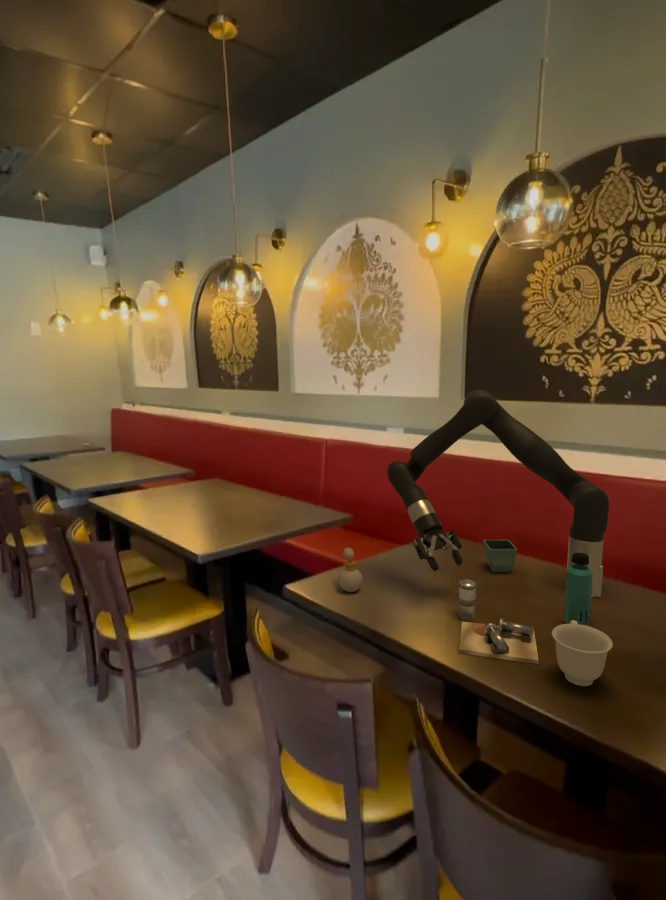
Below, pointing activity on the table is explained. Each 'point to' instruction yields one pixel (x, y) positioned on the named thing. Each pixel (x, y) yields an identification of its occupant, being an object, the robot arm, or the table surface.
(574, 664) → the teacup
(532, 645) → the base board
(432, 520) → the robot arm
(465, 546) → the table surface
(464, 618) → the disc
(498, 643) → the shaft
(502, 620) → the shaft
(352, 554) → the perfume bottle
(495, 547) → the flower pot
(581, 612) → the beverage bottle
